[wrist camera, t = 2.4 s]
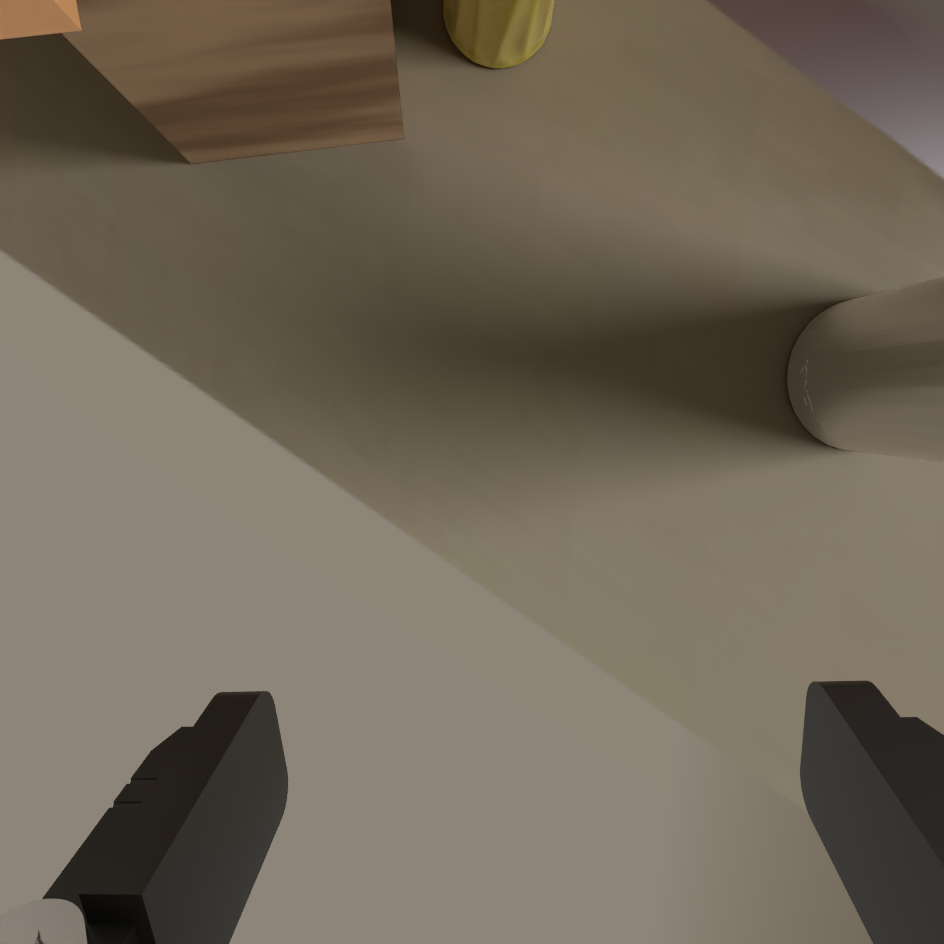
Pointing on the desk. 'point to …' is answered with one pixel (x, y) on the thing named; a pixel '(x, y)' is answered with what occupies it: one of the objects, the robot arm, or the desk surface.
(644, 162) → the desk surface
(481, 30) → the vase
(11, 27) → the light orange bar
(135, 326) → the desk surface
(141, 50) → the pedestal
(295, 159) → the desk surface
